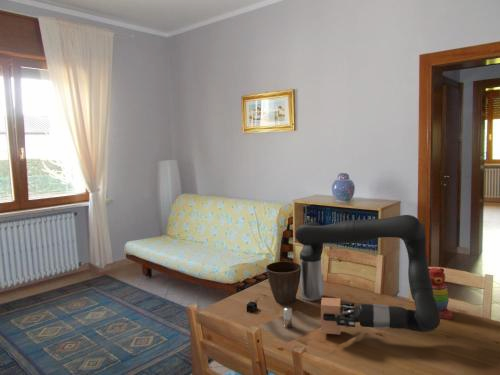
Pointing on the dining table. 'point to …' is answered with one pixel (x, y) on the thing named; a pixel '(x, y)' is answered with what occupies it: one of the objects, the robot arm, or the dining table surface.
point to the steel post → (287, 317)
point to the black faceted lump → (251, 306)
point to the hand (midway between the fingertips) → (324, 312)
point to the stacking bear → (440, 291)
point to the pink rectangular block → (330, 308)
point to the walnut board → (299, 326)
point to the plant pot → (284, 280)
